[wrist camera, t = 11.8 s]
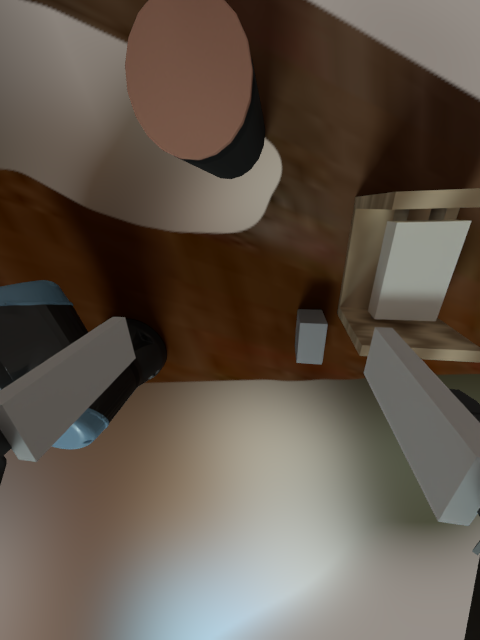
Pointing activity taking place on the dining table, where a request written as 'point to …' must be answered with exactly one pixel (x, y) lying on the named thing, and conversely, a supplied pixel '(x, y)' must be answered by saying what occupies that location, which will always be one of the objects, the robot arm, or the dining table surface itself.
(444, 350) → the shelf bay
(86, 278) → the dining table surface
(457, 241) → the white flat block
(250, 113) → the coffee jar
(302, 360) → the block
